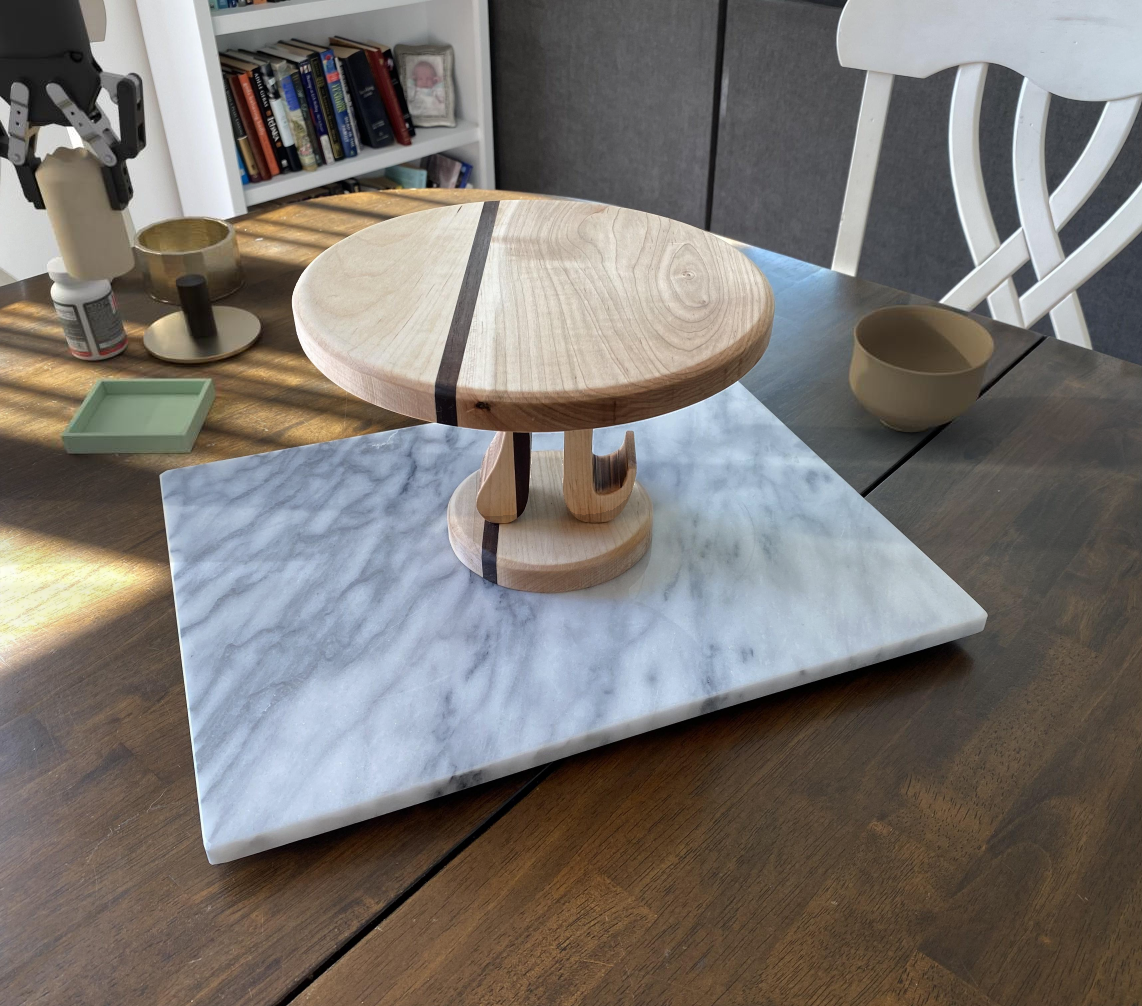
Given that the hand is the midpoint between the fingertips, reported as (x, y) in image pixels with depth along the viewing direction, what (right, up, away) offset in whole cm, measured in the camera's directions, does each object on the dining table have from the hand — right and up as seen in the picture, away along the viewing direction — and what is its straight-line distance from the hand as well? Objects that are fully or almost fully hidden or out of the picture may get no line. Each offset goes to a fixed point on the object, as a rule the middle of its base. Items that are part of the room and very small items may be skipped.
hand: (83, 206), depth 78 cm
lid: (0, -6, +25) cm, 25 cm away
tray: (0, -17, +12) cm, 21 cm away
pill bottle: (-10, -8, +23) cm, 26 cm away
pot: (-5, +2, +36) cm, 36 cm away
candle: (0, -4, +4) cm, 6 cm away
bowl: (+74, -17, +16) cm, 77 cm away
